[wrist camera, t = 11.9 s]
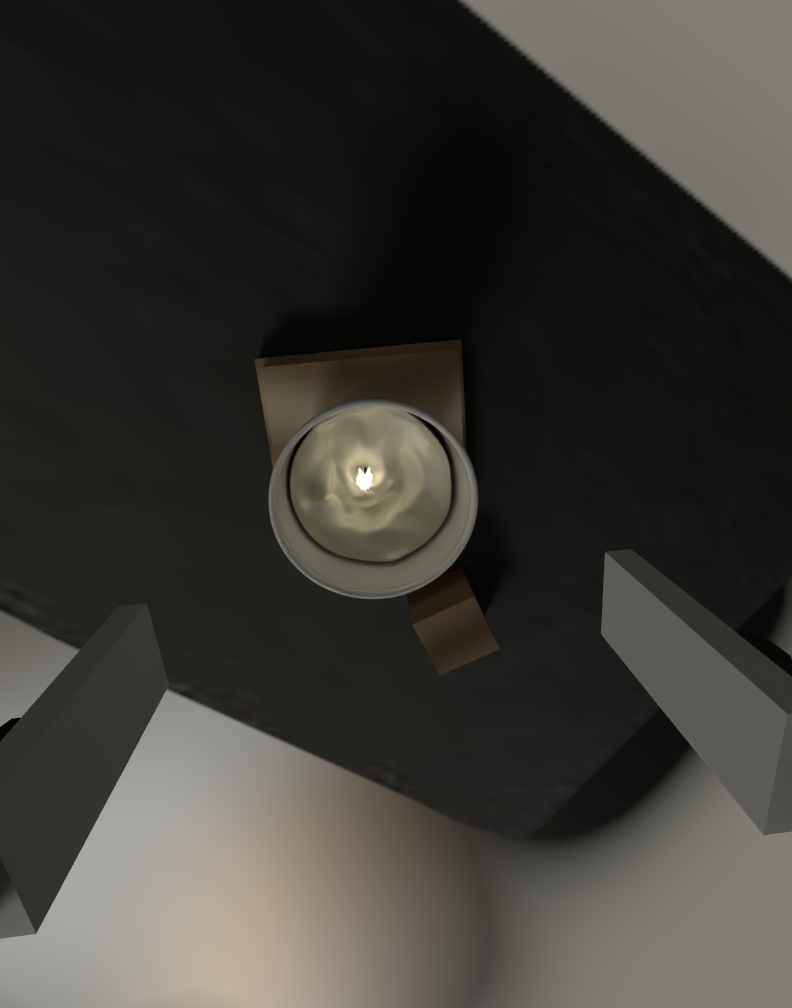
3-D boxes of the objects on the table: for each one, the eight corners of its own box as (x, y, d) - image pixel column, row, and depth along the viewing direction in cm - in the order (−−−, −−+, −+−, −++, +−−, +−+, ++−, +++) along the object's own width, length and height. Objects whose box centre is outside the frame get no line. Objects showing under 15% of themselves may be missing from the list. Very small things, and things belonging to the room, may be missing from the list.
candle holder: (286, 385, 33) (250, 411, 22) (435, 370, 34) (474, 388, 22) (308, 525, 37) (286, 611, 25) (444, 510, 37) (483, 588, 26)
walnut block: (406, 592, 42) (412, 624, 38) (461, 567, 42) (474, 596, 37) (431, 638, 44) (439, 675, 39) (484, 614, 43) (499, 648, 39)
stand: (258, 358, 36) (250, 360, 33) (457, 339, 36) (466, 340, 33) (289, 542, 40) (284, 558, 37) (466, 524, 41) (474, 538, 38)
